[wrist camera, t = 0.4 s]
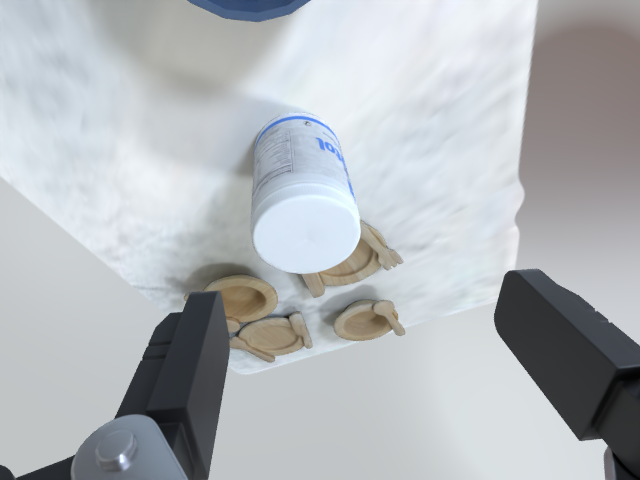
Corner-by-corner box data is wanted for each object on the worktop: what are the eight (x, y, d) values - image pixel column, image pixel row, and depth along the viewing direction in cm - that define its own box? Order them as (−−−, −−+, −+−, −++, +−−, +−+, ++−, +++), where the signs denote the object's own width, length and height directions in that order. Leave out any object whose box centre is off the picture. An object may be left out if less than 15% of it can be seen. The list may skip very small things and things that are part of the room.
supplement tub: (355, 146, 41) (386, 235, 31) (298, 196, 45) (309, 289, 35) (293, 88, 36) (308, 173, 26) (235, 150, 40) (226, 245, 30)
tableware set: (383, 200, 48) (390, 221, 45) (419, 309, 68) (426, 328, 65) (159, 282, 54) (153, 305, 51) (253, 359, 74) (253, 379, 71)
